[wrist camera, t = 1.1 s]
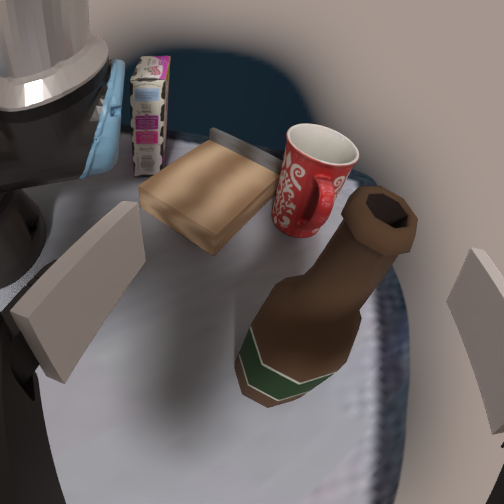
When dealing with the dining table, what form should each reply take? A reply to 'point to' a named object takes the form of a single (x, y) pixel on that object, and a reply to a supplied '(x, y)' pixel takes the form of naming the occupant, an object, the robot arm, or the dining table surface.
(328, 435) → the dining table surface
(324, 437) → the dining table surface
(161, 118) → the candy bar box
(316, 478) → the dining table surface
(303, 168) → the mug
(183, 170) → the shelf step
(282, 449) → the dining table surface
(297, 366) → the beer bottle
